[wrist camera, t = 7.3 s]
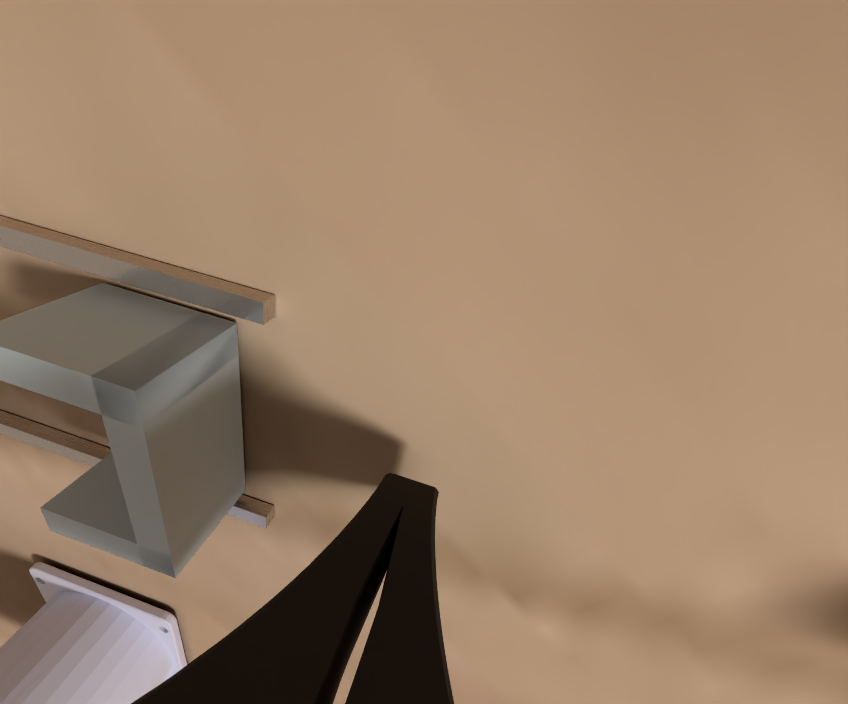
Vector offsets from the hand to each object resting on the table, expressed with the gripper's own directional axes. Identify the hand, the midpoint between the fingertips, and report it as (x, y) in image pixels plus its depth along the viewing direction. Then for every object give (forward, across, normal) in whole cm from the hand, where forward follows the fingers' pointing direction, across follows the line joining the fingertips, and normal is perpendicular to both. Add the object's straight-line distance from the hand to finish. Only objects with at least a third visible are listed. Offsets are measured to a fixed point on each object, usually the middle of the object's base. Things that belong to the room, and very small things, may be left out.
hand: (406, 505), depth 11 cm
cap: (+1, +8, 0) cm, 8 cm away
